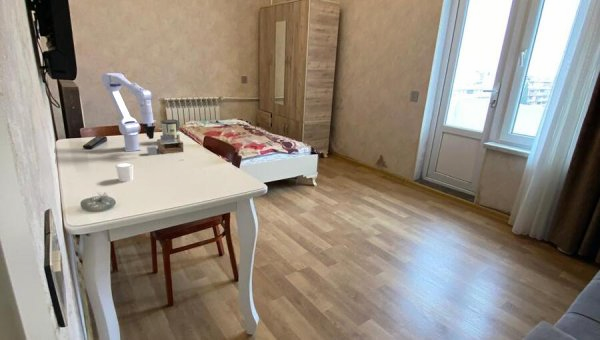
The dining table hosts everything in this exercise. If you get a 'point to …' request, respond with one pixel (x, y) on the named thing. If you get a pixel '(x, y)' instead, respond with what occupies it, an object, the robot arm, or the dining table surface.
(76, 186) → the dining table surface
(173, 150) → the frame
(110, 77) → the robot arm
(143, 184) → the dining table surface
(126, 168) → the white cup
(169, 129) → the coffee can
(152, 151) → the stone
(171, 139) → the trapdoor
